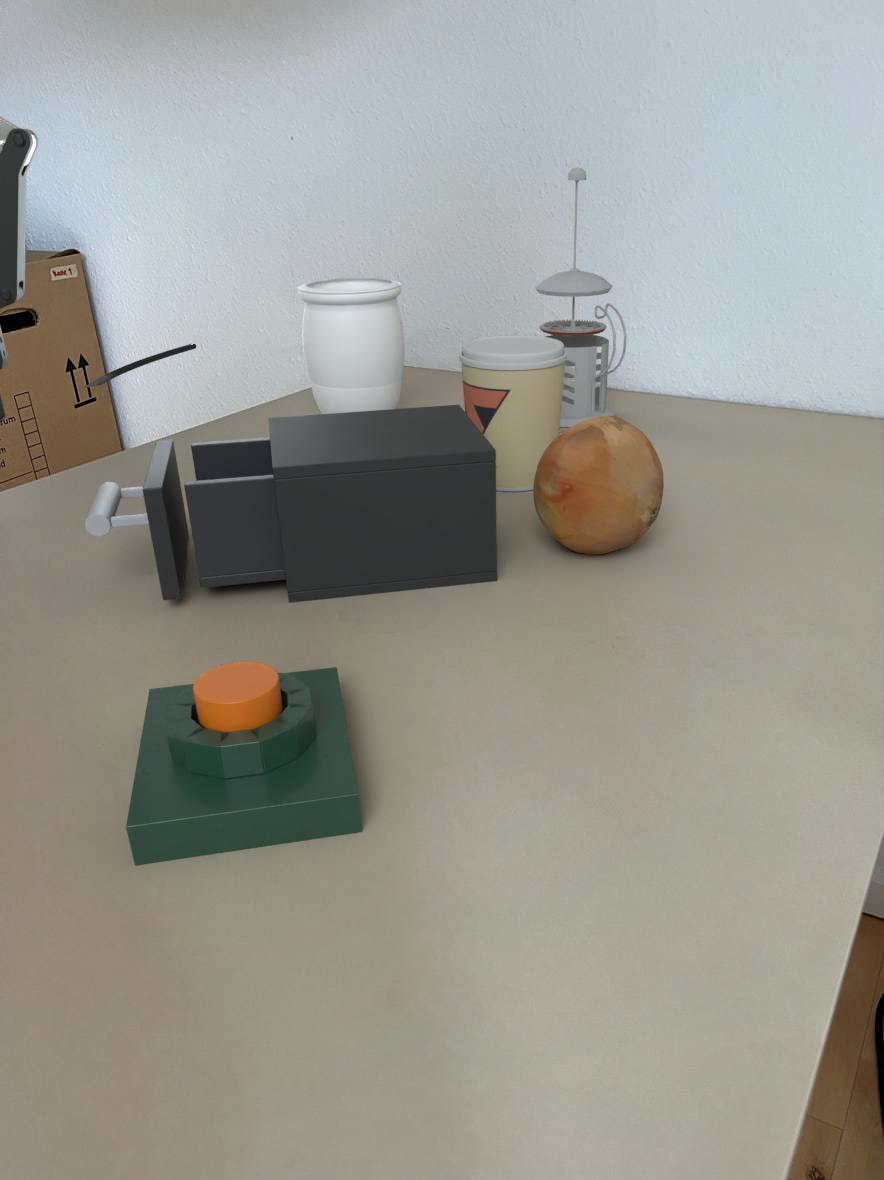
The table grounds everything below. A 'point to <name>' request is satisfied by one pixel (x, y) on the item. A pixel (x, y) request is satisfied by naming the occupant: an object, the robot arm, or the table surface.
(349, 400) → the jar
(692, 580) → the table surface
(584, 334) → the french press
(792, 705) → the table surface
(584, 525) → the onion
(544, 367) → the coffee cup
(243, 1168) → the table surface
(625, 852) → the table surface
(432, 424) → the drawer cabinet
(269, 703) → the button
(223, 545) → the pull-out drawer
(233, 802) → the green button housing
